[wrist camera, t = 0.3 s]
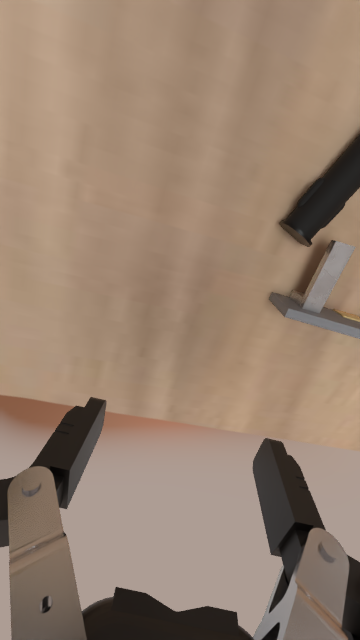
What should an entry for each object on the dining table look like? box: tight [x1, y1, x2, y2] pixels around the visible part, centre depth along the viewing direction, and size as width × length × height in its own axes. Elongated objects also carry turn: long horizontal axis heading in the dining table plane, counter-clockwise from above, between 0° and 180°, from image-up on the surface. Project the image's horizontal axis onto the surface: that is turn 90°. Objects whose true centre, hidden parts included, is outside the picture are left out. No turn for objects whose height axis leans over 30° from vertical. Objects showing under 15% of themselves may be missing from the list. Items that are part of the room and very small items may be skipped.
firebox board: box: [269, 292, 360, 339], centre depth 35 cm, size 1×24×8 cm, turn 74°
